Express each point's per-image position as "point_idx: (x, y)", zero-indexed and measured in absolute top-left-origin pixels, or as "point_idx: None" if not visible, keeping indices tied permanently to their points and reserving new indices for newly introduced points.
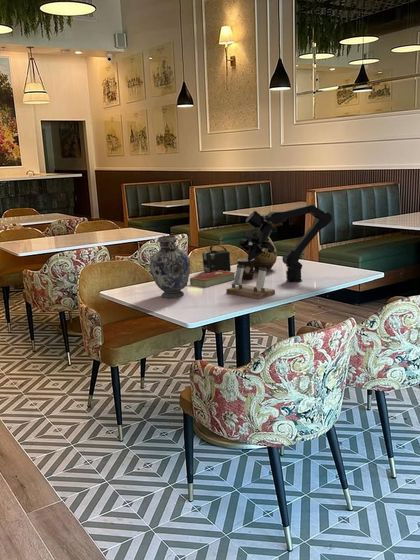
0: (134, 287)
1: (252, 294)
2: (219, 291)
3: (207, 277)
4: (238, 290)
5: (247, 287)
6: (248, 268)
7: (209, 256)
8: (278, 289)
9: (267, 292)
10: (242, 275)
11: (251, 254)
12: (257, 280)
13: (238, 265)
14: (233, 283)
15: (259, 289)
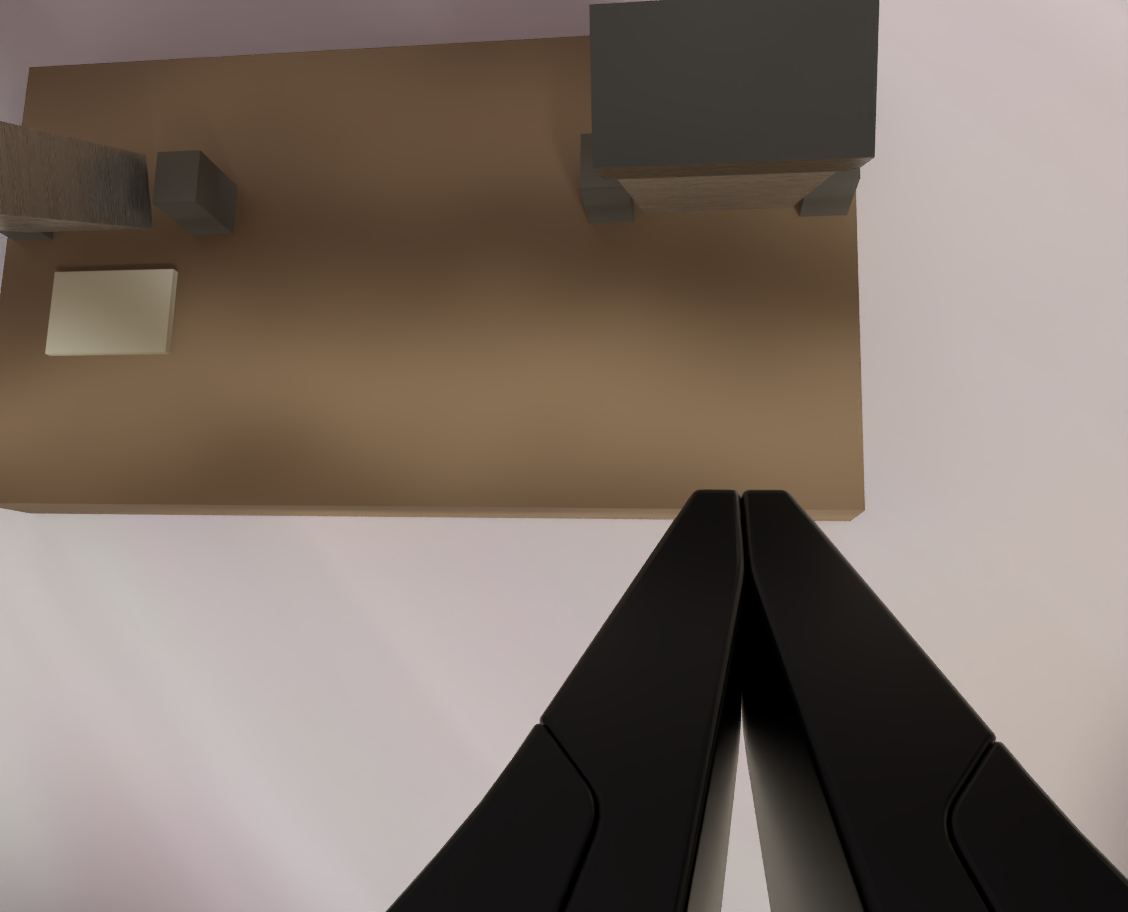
0: None
1: (162, 67)
2: (1088, 88)
3: None
4: (542, 76)
5: (563, 350)
6: None
7: None
8: (168, 835)
9: (6, 301)
10: (628, 190)
11: (617, 676)
12: (38, 133)
13: (789, 5)
14: (855, 172)
15: (235, 353)
